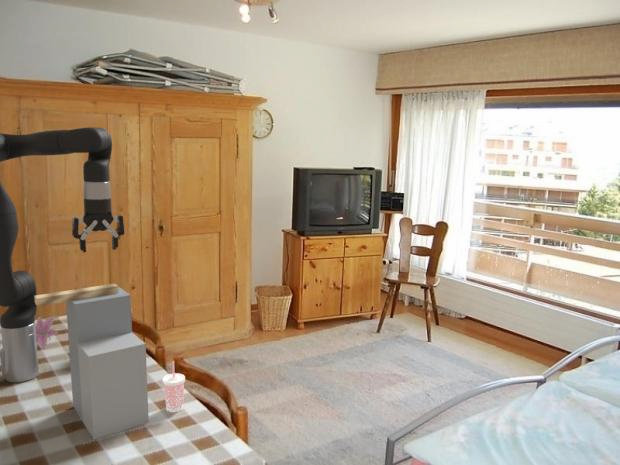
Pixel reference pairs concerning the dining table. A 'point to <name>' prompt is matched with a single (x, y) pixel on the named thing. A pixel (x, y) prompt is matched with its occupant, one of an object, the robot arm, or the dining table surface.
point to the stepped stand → (106, 364)
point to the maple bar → (75, 294)
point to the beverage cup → (174, 391)
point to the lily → (44, 330)
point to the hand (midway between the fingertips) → (99, 250)
